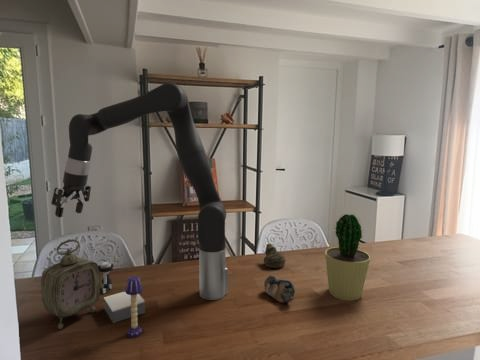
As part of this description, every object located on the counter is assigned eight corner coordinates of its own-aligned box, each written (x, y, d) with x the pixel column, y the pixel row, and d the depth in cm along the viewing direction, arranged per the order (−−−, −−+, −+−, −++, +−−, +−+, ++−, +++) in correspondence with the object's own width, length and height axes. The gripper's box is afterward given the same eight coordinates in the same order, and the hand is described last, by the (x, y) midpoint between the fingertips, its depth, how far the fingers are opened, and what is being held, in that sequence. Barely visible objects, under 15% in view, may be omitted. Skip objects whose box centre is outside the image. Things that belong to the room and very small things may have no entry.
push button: (111, 294, 117) (110, 267, 116) (95, 294, 116) (94, 268, 115) (116, 285, 124) (114, 260, 122) (101, 286, 123) (100, 260, 121)
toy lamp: (129, 328, 97) (127, 274, 94) (145, 327, 97) (143, 274, 95) (125, 338, 92) (122, 282, 90) (142, 337, 92) (140, 281, 90)
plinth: (134, 299, 113) (134, 288, 113) (145, 312, 105) (144, 301, 105) (104, 308, 107) (103, 297, 107) (113, 323, 99) (112, 310, 99)
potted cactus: (369, 288, 124) (374, 210, 119) (365, 307, 110) (372, 220, 105) (327, 280, 130) (331, 206, 126) (319, 297, 116) (323, 214, 112)
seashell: (282, 245, 151) (260, 246, 150) (288, 239, 141) (265, 239, 139) (284, 270, 147) (262, 271, 145) (290, 266, 136) (267, 266, 135)
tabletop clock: (57, 334, 94) (51, 250, 90) (40, 324, 98) (33, 243, 95) (102, 311, 106) (98, 236, 102) (85, 303, 111) (80, 231, 107)
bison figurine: (265, 290, 122) (257, 301, 112) (266, 271, 121) (258, 282, 112) (297, 296, 118) (292, 309, 108) (298, 277, 117) (293, 288, 108)
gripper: (68, 175, 107) (59, 222, 109) (100, 173, 120) (91, 214, 123) (51, 168, 109) (43, 214, 112) (84, 167, 122) (76, 208, 125)
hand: (68, 214), depth 117 cm, fingers open, 8 cm apart
